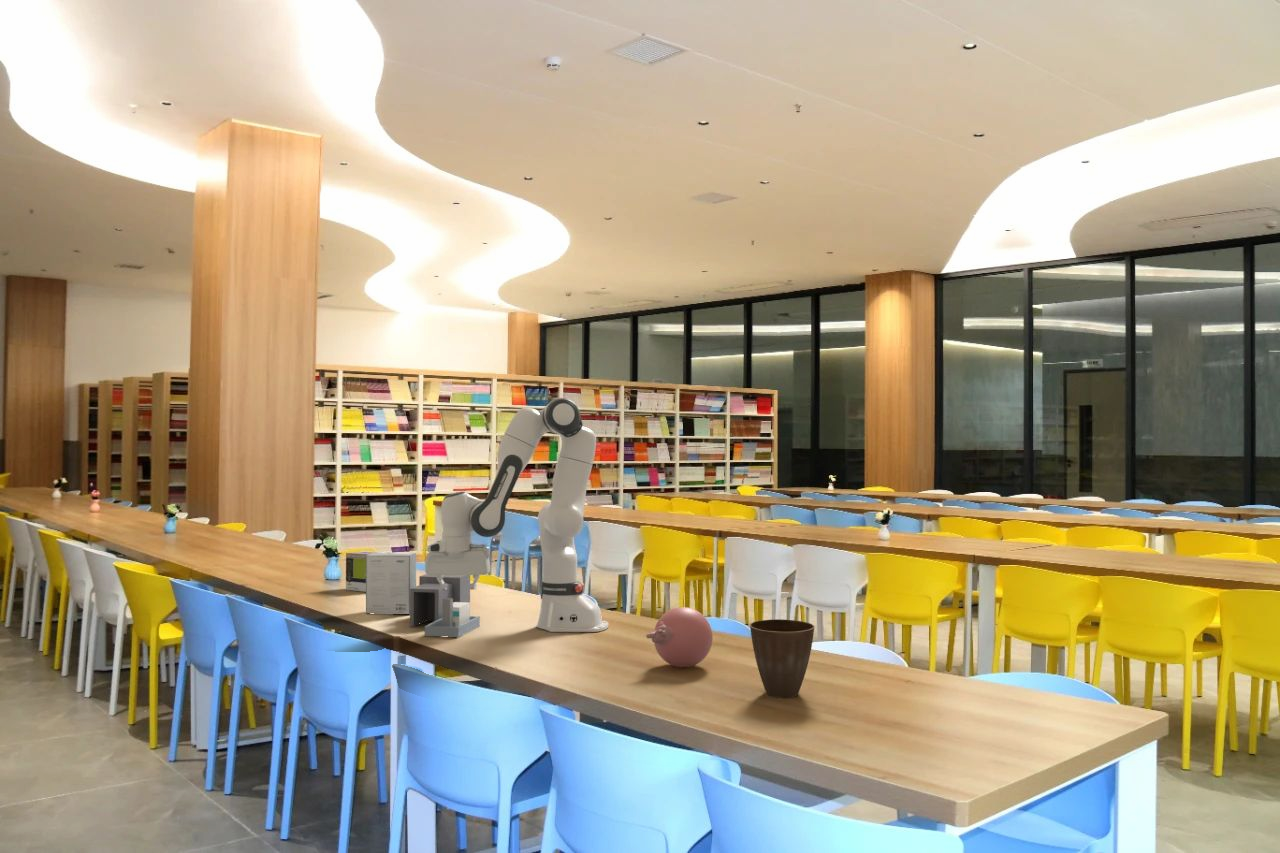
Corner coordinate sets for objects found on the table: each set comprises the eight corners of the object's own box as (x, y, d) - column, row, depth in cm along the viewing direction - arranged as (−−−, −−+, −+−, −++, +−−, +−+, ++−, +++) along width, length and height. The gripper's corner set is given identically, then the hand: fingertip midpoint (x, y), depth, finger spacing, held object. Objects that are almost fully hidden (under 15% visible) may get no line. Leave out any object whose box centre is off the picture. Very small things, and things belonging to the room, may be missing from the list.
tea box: (391, 590, 384) (391, 552, 385) (371, 593, 376) (372, 554, 376) (364, 586, 392) (364, 549, 393) (344, 590, 384) (344, 552, 384)
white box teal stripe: (469, 624, 310) (470, 593, 310) (453, 633, 297) (454, 599, 297) (454, 624, 311) (454, 592, 311) (438, 632, 298) (438, 599, 298)
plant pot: (806, 705, 221) (806, 633, 221) (742, 698, 227) (742, 628, 227) (819, 689, 235) (820, 622, 235) (758, 683, 240) (759, 617, 241)
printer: (470, 615, 329) (470, 573, 330) (445, 628, 308) (445, 583, 308) (430, 614, 332) (430, 572, 332) (403, 626, 310) (403, 581, 310)
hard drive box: (417, 611, 338) (417, 553, 338) (409, 615, 330) (410, 555, 330) (373, 610, 339) (373, 552, 339) (364, 614, 331) (365, 554, 332)
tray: (479, 626, 311) (479, 616, 311) (458, 638, 293) (458, 627, 293) (447, 625, 313) (447, 615, 313) (424, 636, 295) (424, 626, 295)
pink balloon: (627, 667, 257) (627, 608, 257) (686, 657, 269) (687, 600, 269) (663, 679, 244) (664, 616, 244) (724, 668, 256) (724, 608, 256)
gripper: (492, 542, 307) (494, 587, 307) (430, 544, 310) (431, 588, 310) (485, 545, 301) (487, 590, 301) (422, 546, 304) (423, 591, 304)
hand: (458, 589), depth 306 cm, fingers open, 8 cm apart
